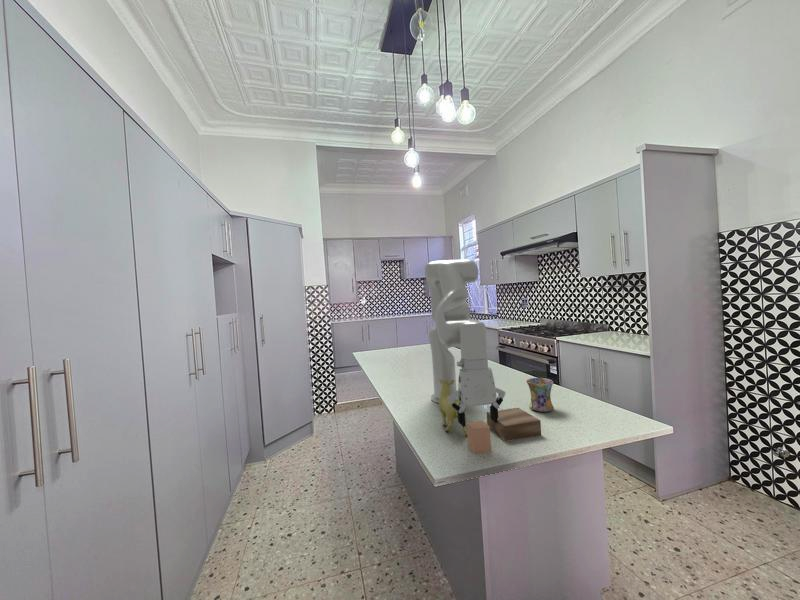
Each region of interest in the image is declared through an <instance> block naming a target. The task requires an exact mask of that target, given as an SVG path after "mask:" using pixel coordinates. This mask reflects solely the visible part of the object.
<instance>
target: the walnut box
mask: <svg viewBox="0 0 800 600" xmlns="http://www.w3.org/2000/svg"><path fill="white" fill-rule="evenodd" d="M497 421H498V422H497V423H495V422H494V421H492V420H491V417H490V411H489V412H486V424H487V425H488V426H489V427H490V430H491V431H493V432H494V433H495V434H496V435H498V437H499V438H501V439H503V440H504V441H505V442H510V441H516V440H521V439H522V440H523V439H528V438H532V437H533V438H535V437H539V436H542V423H541V420H540V419H539V418H538V417H536V416H533V415H532V414H530V413H529V412H527V411H525V410H523V409H522V408H520V407H515V408H514V407H513V408H507V409H500V410H499V409H498V418H497Z"/></svg>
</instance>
